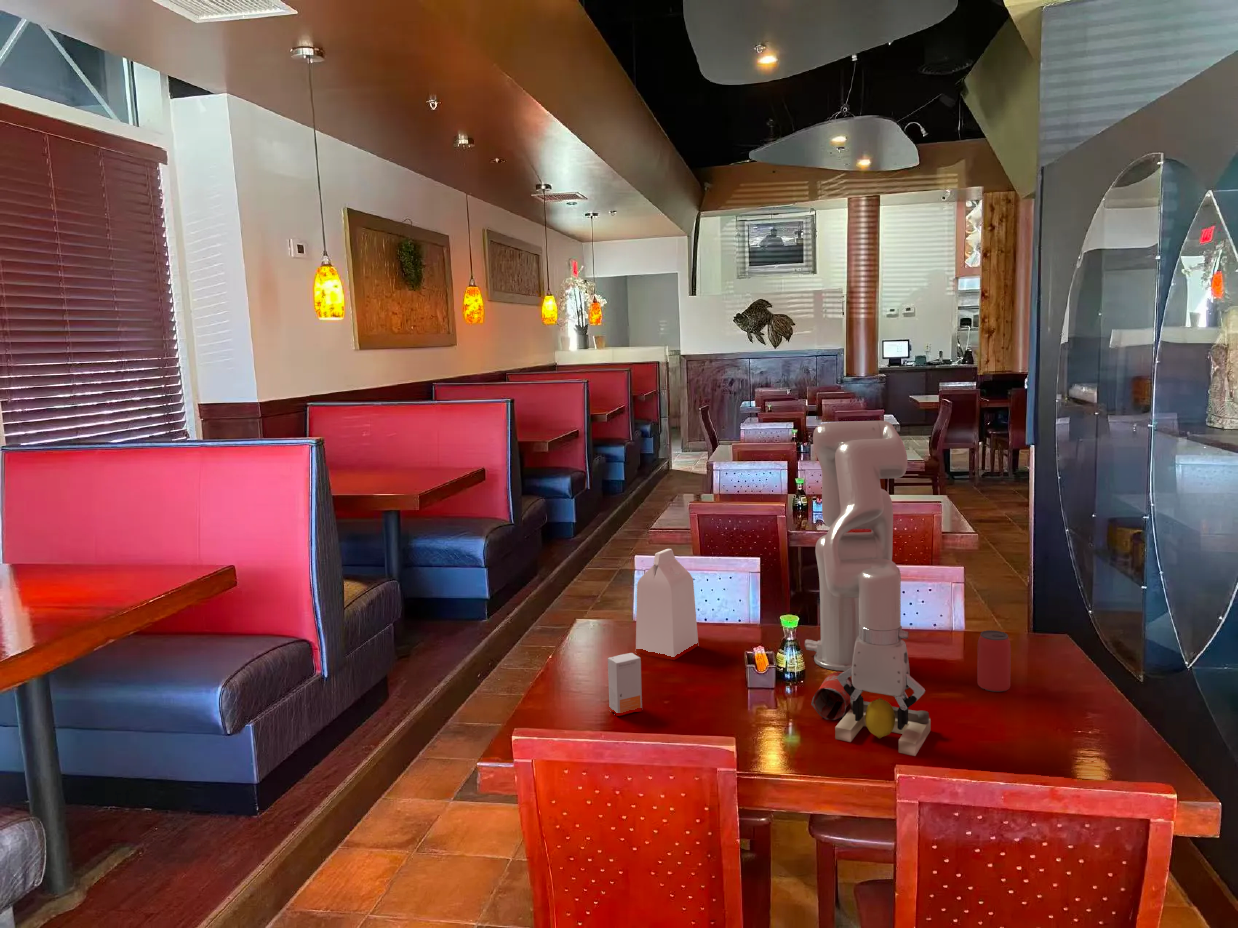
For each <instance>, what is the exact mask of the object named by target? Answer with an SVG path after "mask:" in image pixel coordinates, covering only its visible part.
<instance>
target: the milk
mask: <svg viewBox="0 0 1238 928" xmlns="http://www.w3.org/2000/svg"><path fill="white" fill-rule="evenodd" d="M675 556H676V555H675V554H674V551H673V549H672V548H666V549H663V550H661V551H658V552H656V553H655V554H654V559H653V565H652V566H651V567H649V569H647V571H646V572H644V574H642V576H641V577H640V578H639V579H638V581H637V584H636V617H635V618H636V619H635V622H636V623H635V631H636V632H635V650H636V649H643V650H646V651H648V652H655V653H658V654H659V653H660V654H665V655H667V656H671V657H675V656H676V655H677V654H680V653H681V652H683V651H684V650H686V649H688V648H689V647H691V646H693V645H694V644H697V643H698V644H699V635H698V624H697V623H698V621H697V610H696V609H697V608H696V597H695V586H694V584H695V583H694V578H693V576H692V574H691V573H690V572H689V571H688V570H687V569H686V568H685V567H684V565H682V563H680V562H679V561H678V559H676V557H675Z"/></svg>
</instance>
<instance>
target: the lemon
mask: <svg viewBox="0 0 1238 928" xmlns="http://www.w3.org/2000/svg"><path fill="white" fill-rule="evenodd" d="M870 702H871V703H870V704H869V705H868V707H867V709H866V713H865V723H866V726H867V727H866V726H865V727H866V728H867V729H868V731H869V732H870V733H871V734H872V735H874V736H875V737H876V738H877V739H882V738H883V737H886V736H888V735H890V734H891V733H893V732H892V730H893V728H894V725H895V714H894V710H893V708H892V705H891V703H890V702H888V701H886V700H884V699H883V698H881V697H879V698H878V699H877V698H876V699H874V700H872V701H870Z"/></svg>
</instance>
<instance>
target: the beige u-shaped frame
mask: <svg viewBox="0 0 1238 928" xmlns="http://www.w3.org/2000/svg"><path fill="white" fill-rule="evenodd" d="M871 702H872V701H864V700H863V705H864V715H863V717H862V718H861V719H860V721H855V715H854V714H853V701H852V700H851V702H850V709H849V710H848V711H847V712H846V713H845V714H844V715H843V716H842V717H841V718H842V719H841V720H840V721H839V722H838V723H837V725H836V726H835V727H834V731H835V733H834V735H835V736H834V738H835V740H839V741H844V742H848V743H851V742H852V741H853V740H854V739H855V737H856V736H857V735H858V734H859V732H860V731H861V730H862V728H863V727H866V728H867V726H866V723H865V713H866V709H867V707H868V705H869V704H870V703H871ZM891 706H892V705H891ZM892 708H893V710H894V714H895V725H894V728H893V730H892V732H891V733H895V734H902V735H900V738H899V739H898V753H899V754H904V755H908V756H913V757H916V756H917V754H918V752H919V750H920V749H921V748H922V746H923V744H924V742H925V741H926V739H927V738H928V736H929V734H930V732H931V728H932V727H931V726H932V725H931V722H932V721H931V718H930V714H929V713H930V712H928V711H926V710H914V709H913V710H912V709H909V708H908V724H907V725H905V726H904V727H903V729H902V730H899V729H898V721H897V711H898V709H899V707H898V706H894V705H893V706H892Z"/></svg>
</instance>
